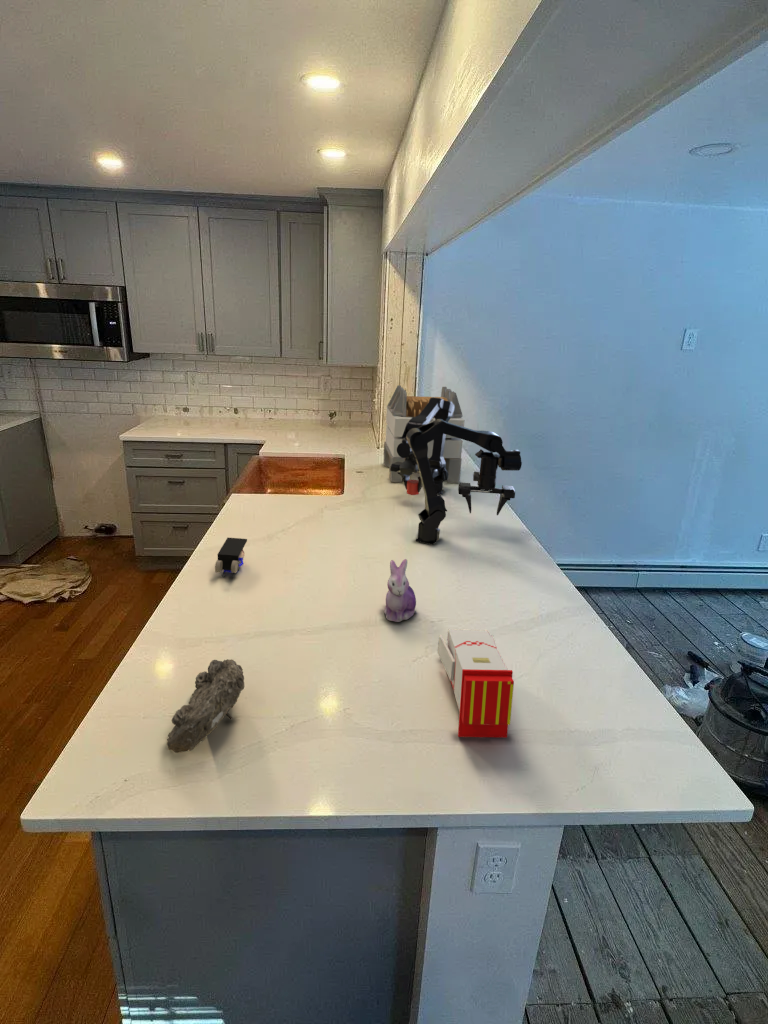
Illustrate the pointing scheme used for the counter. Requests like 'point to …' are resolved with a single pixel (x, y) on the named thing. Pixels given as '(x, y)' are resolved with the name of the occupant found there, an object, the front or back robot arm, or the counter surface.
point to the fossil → (206, 705)
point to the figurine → (399, 594)
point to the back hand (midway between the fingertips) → (412, 490)
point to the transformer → (411, 406)
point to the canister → (412, 487)
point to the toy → (478, 682)
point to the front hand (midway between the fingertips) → (483, 513)
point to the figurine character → (230, 556)
